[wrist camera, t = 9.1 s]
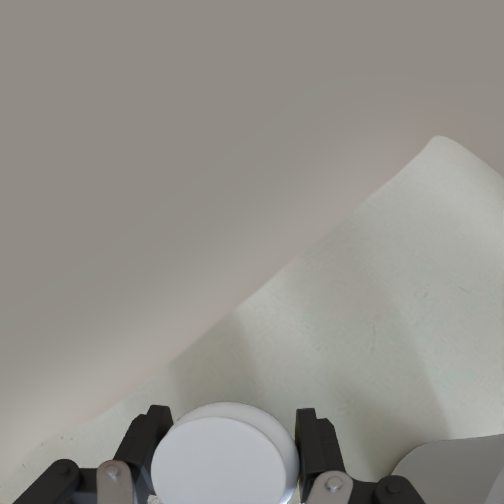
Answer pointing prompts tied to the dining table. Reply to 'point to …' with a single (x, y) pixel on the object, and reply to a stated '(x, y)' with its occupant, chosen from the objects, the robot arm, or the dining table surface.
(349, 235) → the dining table surface
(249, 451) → the supplement bottle
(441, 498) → the beverage can
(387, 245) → the dining table surface
